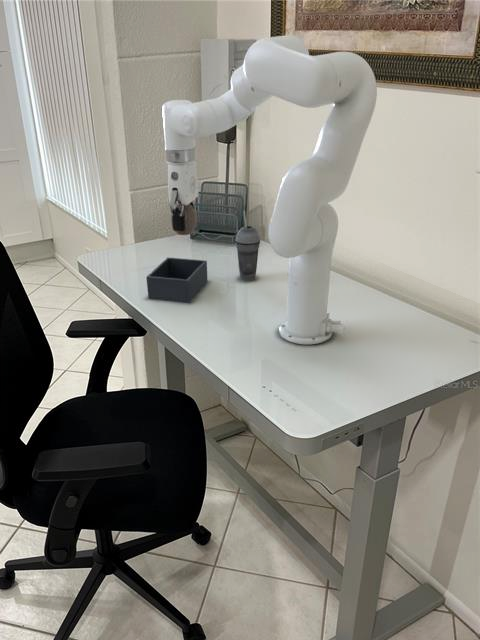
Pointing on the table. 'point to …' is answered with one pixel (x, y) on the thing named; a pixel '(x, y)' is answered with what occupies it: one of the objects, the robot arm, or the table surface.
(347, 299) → the table surface
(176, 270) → the dark grey open box
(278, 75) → the robot arm
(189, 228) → the vase
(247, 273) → the beverage cup
